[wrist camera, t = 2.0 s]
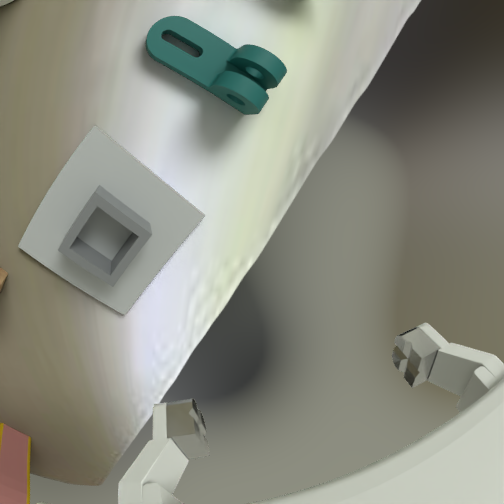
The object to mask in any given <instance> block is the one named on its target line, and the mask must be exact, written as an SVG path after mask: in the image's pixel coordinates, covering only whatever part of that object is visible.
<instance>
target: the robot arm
mask: <svg viewBox="0 0 504 504" xmlns="http://www.w3.org/2000/svg"><path fill="white" fill-rule="evenodd" d="M12 1H14V0H0V6H3V5H5V4H8V3H10V2H12ZM395 344H396V345H397V346H396V347H395V348H394V350H393V354H392V358H393V362H394V364H395V367H396V368H397V369H398V370H399V371H401V372H404V378H405V380H406V381H407V382H408V383H409V385H410V386H411V387H414V386H416V385H418V384H420V383H422V382H424V381H426V380H428V381H429V382H431V383H433V384H435V385H438V386H440V387H442V388H444V389H446V390H448V391H450V392H452V393H455V394H457V395H459V396H461V398H460V400H459V402H458V403H457V406H456V408H457V409H458V410H459V412H460V413H459V414H458V415H456V416H455V417H453V418H452V419H450V420H449V421H447V422H446V423H444V424H443V425H441V426H440V427H438V428H437V429H435V430H433V431H432V432H430V433H429V434H427V435H425V436H424V437H422V438H420V439H418V440H417V441H415V442H413V443H411V444H410V445H408V446H406V447H404V448H402V449H400V450H398V451H397V452H395V453H393V454H391V455H389V456H387V457H385V458H383V459H381V460H378V461H376V462H374V463H372V464H370V465H368V466H366V467H363V468H361V469H358V470H356V471H354V472H351V473H349V474H346V475H344V476H341V477H339V478H336V479H333V480H331V481H328V482H325V483H322V484H319V485H316V486H313V487H310V488H307V489H304V490H300V491H297V492H294V493H290V494H286V495H283V496H279V497H275V498H271V499H267V500H262V501H258V502H253V503H248V504H504V364H503V363H502V362H501V361H500V360H499V359H498V358H497V357H496V356H495V355H493V354H489V353H486V352H483V351H479V350H476V349H472V348H469V347H465V346H461V345H458V344H454V343H450V344H449V343H448V342H447V341H446V340H445V339H444V338H443V337H441V335H440V334H439V333H438V332H437V331H436V330H435V329H433V328H432V327H431V326H430V325H429V324H428V323H424V324H422V325H419V326H418V327H415V328H413V329H411V330H408V331H406V332H404V333H402V334H400V335H398V336H397V337H396V339H395ZM205 434H206V426H205V422H204V418H203V415H202V413H201V411H200V410H198V409H197V403H196V402H195V400H194V399H189V400H182V401H175V402H168V403H160V404H154V407H153V440H149V441H148V443H147V444H146V446H145V447H144V448H143V450H142V451H141V452H140V454H139V455H138V457H137V458H136V460H135V461H134V462H133V464H132V465H131V467H130V468H129V469H128V471H127V472H126V473H125V475H124V476H123V478H122V479H121V480H120V482H119V488H118V489H119V490H118V504H184V503H182V502H181V501H179V500H178V499H177V498H176V497H174V496H173V495H172V494H173V492H174V490H175V488H176V486H177V484H178V482H179V480H180V478H181V476H182V474H183V472H184V470H185V468H186V466H187V463H188V461H189V459H194V458H201V457H206V456H210V452H209V445H208V441H207V439H206V438H205V436H204V435H205ZM37 504H50V503H44V502H39V503H37Z"/></svg>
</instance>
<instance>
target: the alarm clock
mask: <svg viewBox="0 0 504 504" xmlns="http://www.w3.org/2000/svg"><path fill="white" fill-rule="evenodd" d="M30 448H31V438H30V437H29V436H27V435H25V434H23V433H21V432H19V431H17V430H15V429H13V428H11V427H9V426H7V425H5V424H3V423H0V504H30Z"/></svg>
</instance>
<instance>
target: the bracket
mask: <svg viewBox="0 0 504 504" xmlns="http://www.w3.org/2000/svg"><path fill="white" fill-rule="evenodd" d="M164 34H169V35H171V36H173V37H175V38H177V39H178V40H180V41H182V42H184V43H185V44H187V45H189V46H191V47H192V48H194V49H196V50H197V51H198V52H199V54H200V56H199V57H193V56H192V55H190V54H188V53H187V52H185V51H183V50H181V49H180V48H178V47H176V46H174V45H172V44H171V43H169V42H167V41H165V40H163V39H162V37H161V36H162V35H164ZM146 48H147V51H148V53H149V55H150V56H151V57H152V58H153V59H154V60H155V61H157V62H159V63H161V64H163V65H164V66H166V67H168V68H170V69H172V70H173V71H175V72H177V73H179V74H180V75H182V76H184V77H186V78H187V79H189V80H191V81H192V82H194V83H196V84H197V85H199V86H201V87H202V88H204V89H206V90H207V91H209V92H210V93H212V94H214V95H215V96H217V97H218V98H220V99H222V100H223V101H225V102H226V103H228V104H229V105H231V106H232V107H234V108H235V109H237V110H238V111H240V112H241V113H243V114H244V115H249V114H259V112H260V111H261V109H262V108H263V106H264V105H265V103H266V102H267V100H268V99H269V97H268V94H267V93H266V90H267V89H270V88H275V87H277V86H278V84H279V83H280V81H281V80H282V79H283V77H284V76H285V74H286V73H287V69H286V67H285V65H284V64H283V62H282V61H281V60H280V59H279V58H277V57H276V56H275V55H274V54H272V53H271V52H269V51H267V50H265V49H263V48H261V47H258V46H255V45H243V46H242V47H240V48H239V49H236V48H234V47H233V46H231V45H230V44H228V43H226V42H225V41H223V40H222V39H220V38H219V37H217V36H215V35H214V34H212V33H211V32H209V31H207V30H206V29H204V28H202V27H201V26H199V25H197V24H196V23H194V22H192V21H190V20H189V19H187V18H184V17H180V16H170V17H166V18H163V19H161V20H159V21H157V22H156V23H155V24H154V25H153V26H152V27H151V28H150V30H149V32H148V35H147V40H146Z"/></svg>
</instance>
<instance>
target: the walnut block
mask: <svg viewBox="0 0 504 504" xmlns="http://www.w3.org/2000/svg"><path fill="white" fill-rule="evenodd" d="M7 275H8V273H7V272H6V271H4V270H3V269H2V268H0V292H1V290H2V287H3V285H4V282H5V280H6V277H7Z"/></svg>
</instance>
